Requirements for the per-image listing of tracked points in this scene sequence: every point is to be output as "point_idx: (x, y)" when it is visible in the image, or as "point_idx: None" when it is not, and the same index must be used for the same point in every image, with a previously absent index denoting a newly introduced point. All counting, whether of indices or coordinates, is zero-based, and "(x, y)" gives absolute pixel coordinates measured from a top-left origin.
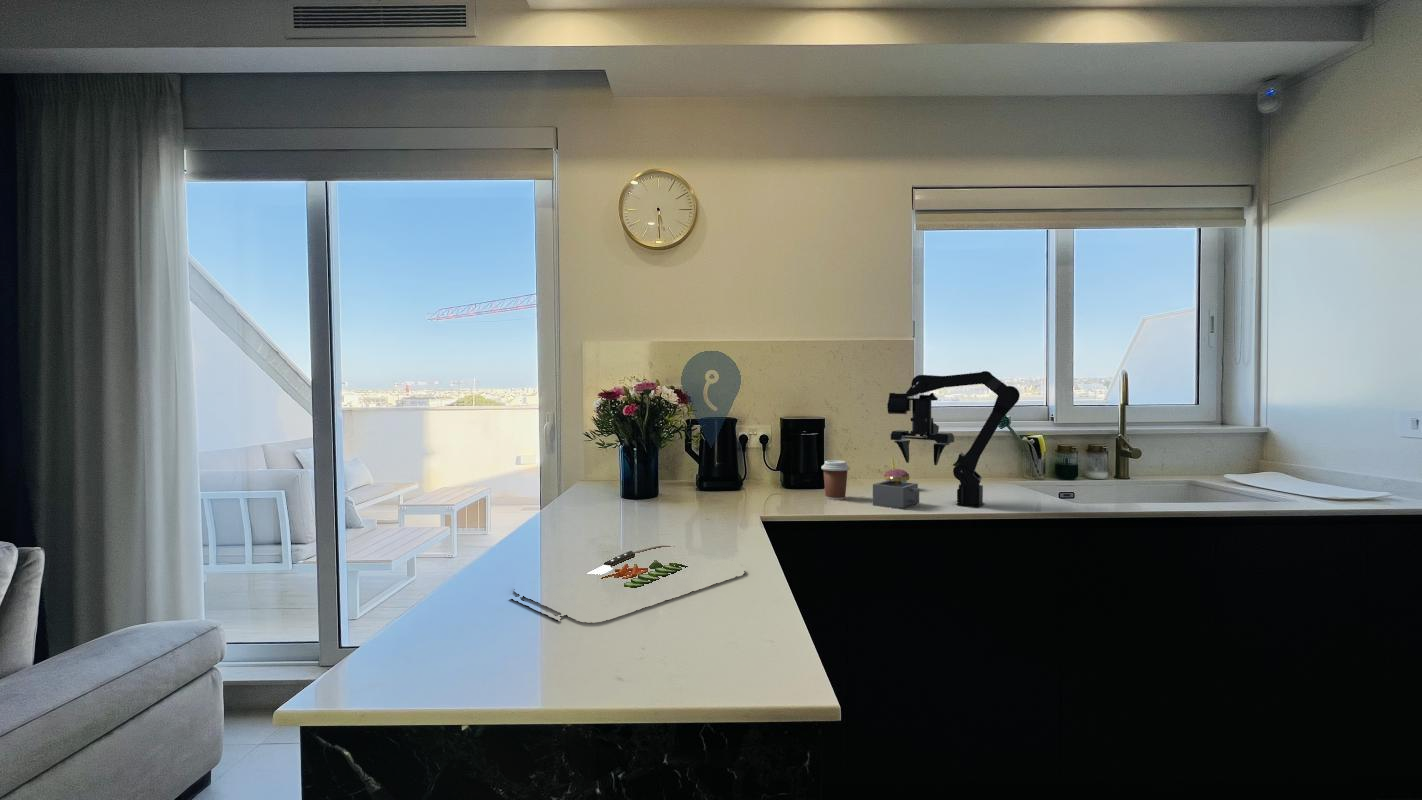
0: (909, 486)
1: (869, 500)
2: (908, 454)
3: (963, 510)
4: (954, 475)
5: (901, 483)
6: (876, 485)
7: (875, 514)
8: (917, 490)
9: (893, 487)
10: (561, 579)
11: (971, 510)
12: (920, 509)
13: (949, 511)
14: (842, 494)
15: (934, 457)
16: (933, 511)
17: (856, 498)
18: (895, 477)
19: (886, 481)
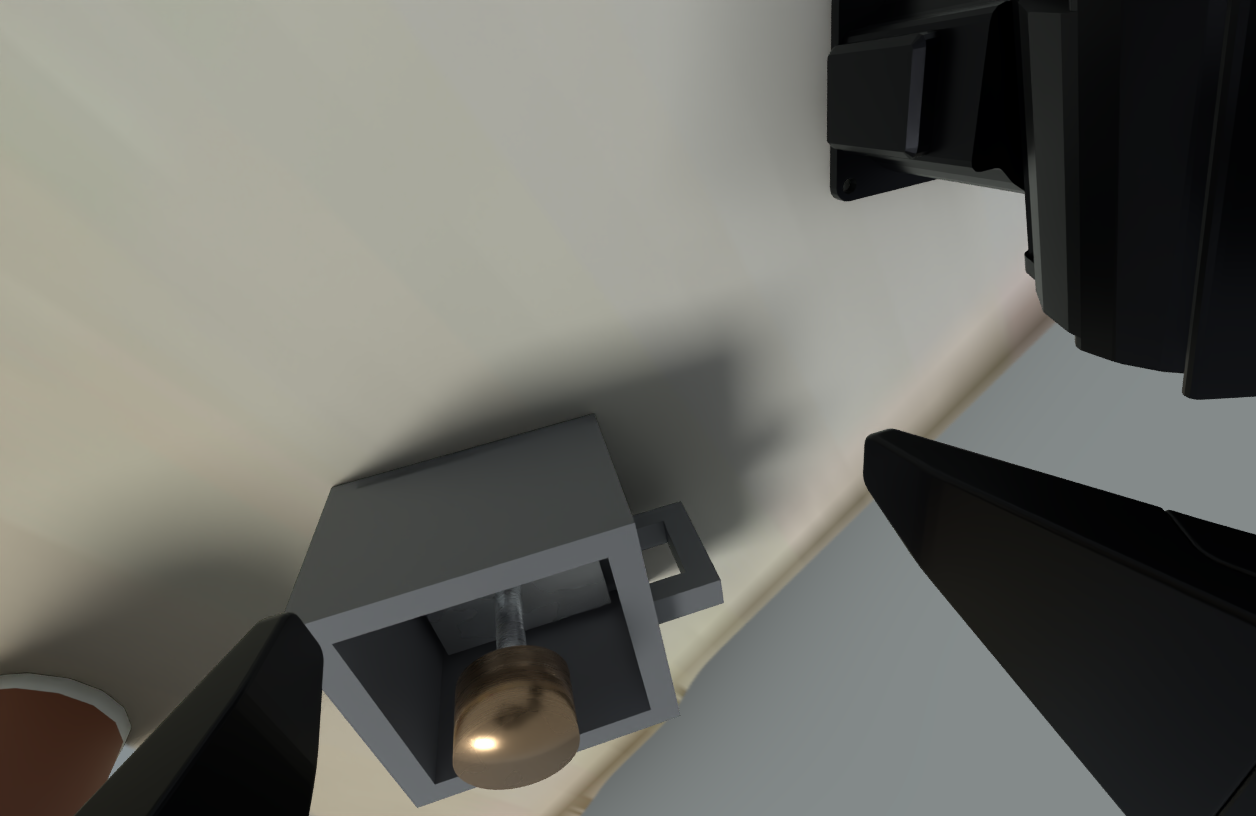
0: (663, 644)
1: (257, 590)
2: (206, 812)
3: (923, 316)
4: (1049, 312)
5: (477, 587)
6: (451, 788)
7: (621, 736)
8: (718, 596)
9: (598, 736)
10: None
11: (966, 270)
12: (706, 510)
13: (862, 414)
14: (105, 752)
15: (994, 633)
16: (789, 489)
17: (119, 623)
18: (559, 769)
19: (350, 679)
